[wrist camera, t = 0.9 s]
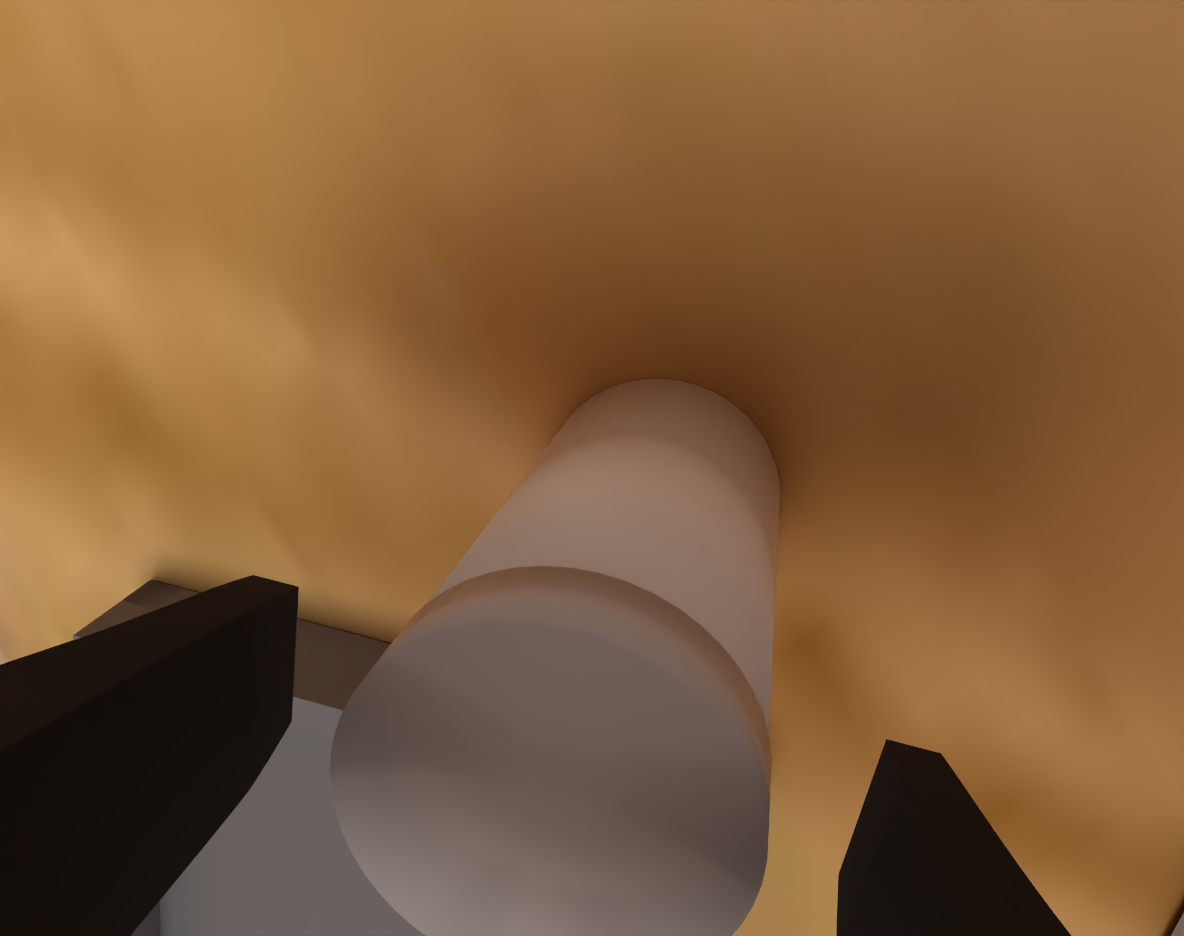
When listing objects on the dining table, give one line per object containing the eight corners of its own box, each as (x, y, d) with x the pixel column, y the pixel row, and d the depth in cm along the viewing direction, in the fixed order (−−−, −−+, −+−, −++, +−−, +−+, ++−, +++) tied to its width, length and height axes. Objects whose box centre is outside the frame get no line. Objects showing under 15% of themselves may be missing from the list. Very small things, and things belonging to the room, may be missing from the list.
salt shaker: (810, 406, 17) (821, 693, 9) (751, 625, 19) (713, 1041, 10) (561, 352, 18) (343, 570, 9) (527, 569, 19) (318, 918, 11)
